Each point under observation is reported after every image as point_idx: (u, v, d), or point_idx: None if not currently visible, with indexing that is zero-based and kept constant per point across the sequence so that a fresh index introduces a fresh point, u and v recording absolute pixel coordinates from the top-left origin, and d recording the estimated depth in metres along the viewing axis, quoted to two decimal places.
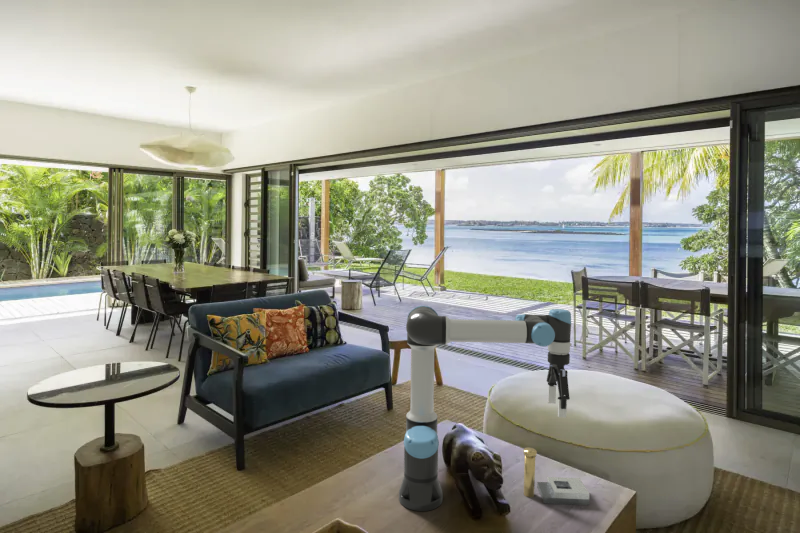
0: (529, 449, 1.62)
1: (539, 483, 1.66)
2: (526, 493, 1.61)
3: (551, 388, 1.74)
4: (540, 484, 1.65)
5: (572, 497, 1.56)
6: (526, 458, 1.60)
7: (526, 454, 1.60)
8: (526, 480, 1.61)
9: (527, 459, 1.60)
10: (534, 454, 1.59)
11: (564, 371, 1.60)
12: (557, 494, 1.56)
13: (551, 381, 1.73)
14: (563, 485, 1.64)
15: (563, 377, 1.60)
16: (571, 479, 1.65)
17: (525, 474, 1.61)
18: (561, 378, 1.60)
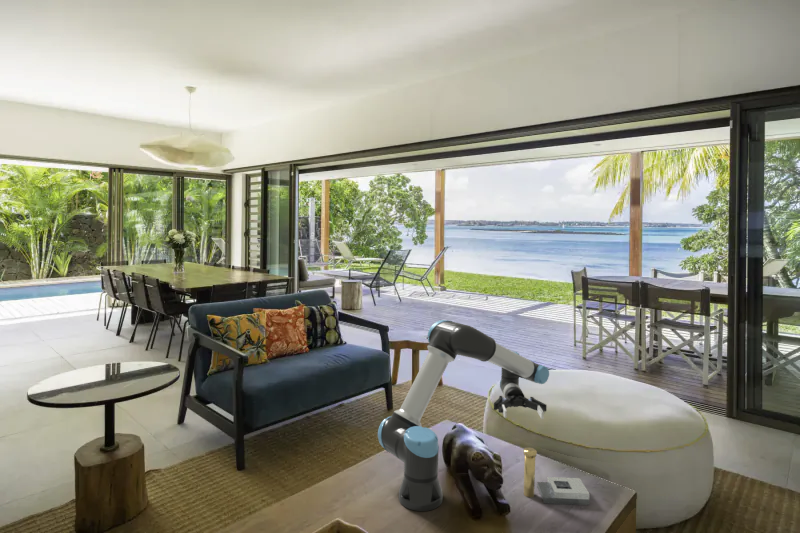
0: (529, 449, 1.62)
1: (539, 483, 1.66)
2: (526, 493, 1.61)
3: None
4: (540, 484, 1.65)
5: (572, 497, 1.56)
6: (526, 458, 1.60)
7: (526, 454, 1.60)
8: (526, 480, 1.61)
9: (527, 459, 1.60)
10: (534, 454, 1.59)
11: None
12: (557, 494, 1.56)
13: (504, 404, 1.81)
14: (563, 485, 1.64)
15: None
16: (571, 479, 1.65)
17: (525, 474, 1.61)
18: None
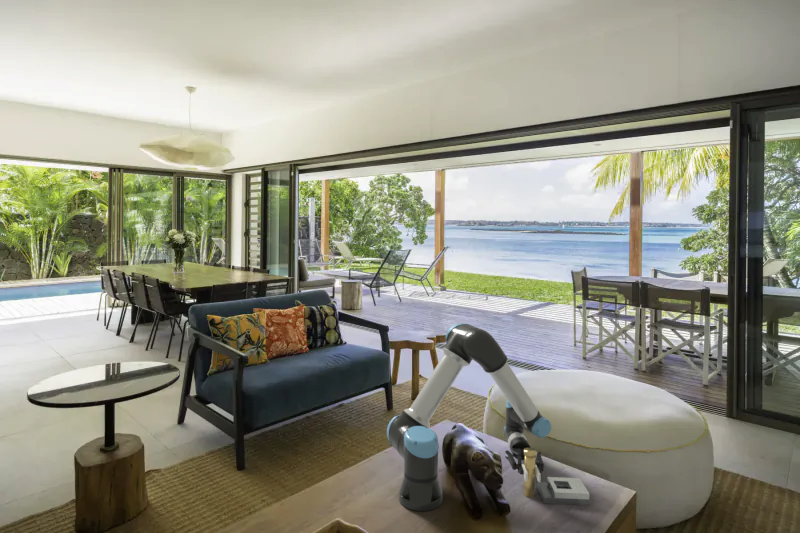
0: (529, 449, 1.62)
1: (539, 483, 1.66)
2: (526, 493, 1.61)
3: None
4: (540, 484, 1.65)
5: (572, 497, 1.56)
6: (526, 458, 1.60)
7: (526, 454, 1.60)
8: None
9: (527, 459, 1.60)
10: (534, 454, 1.59)
11: None
12: (557, 494, 1.56)
13: None
14: (563, 485, 1.64)
15: None
16: (571, 479, 1.65)
17: None
18: None
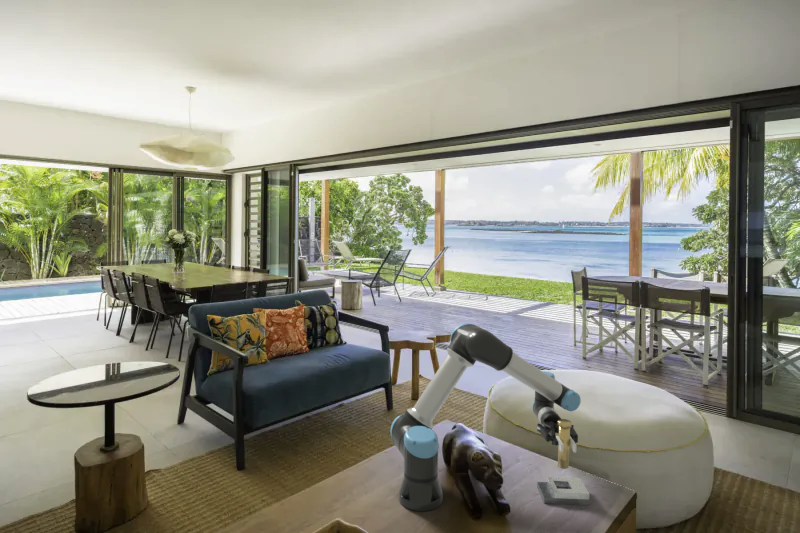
0: (563, 420, 1.60)
1: (539, 483, 1.66)
2: (561, 464, 1.59)
3: None
4: (540, 484, 1.65)
5: (572, 497, 1.56)
6: (561, 429, 1.59)
7: (561, 425, 1.58)
8: (561, 452, 1.59)
9: (562, 430, 1.59)
10: (569, 425, 1.58)
11: None
12: (557, 494, 1.56)
13: (554, 434, 1.64)
14: (563, 485, 1.64)
15: None
16: (571, 479, 1.65)
17: None
18: None
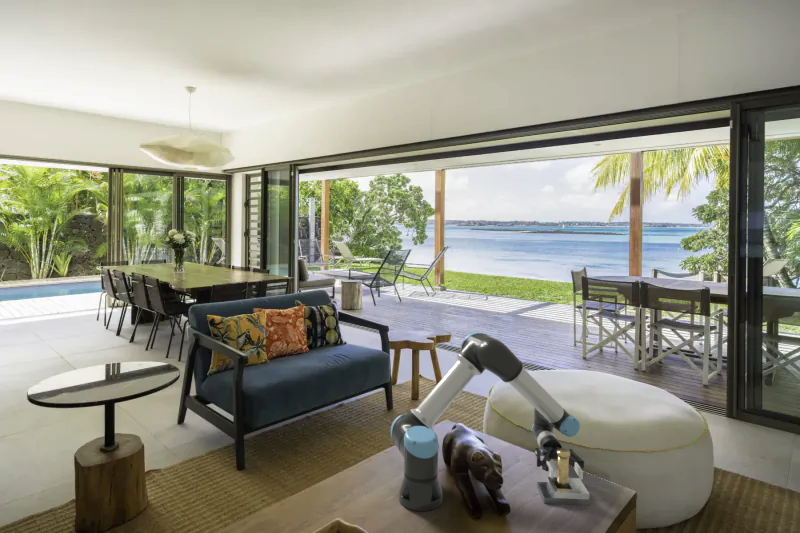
0: (562, 450, 1.61)
1: (539, 483, 1.66)
2: None
3: None
4: (540, 484, 1.65)
5: (572, 497, 1.56)
6: (560, 459, 1.60)
7: (560, 455, 1.59)
8: (559, 482, 1.60)
9: (560, 460, 1.59)
10: (568, 455, 1.59)
11: None
12: (557, 494, 1.56)
13: (547, 459, 1.65)
14: None
15: None
16: (571, 479, 1.65)
17: (558, 475, 1.60)
18: None
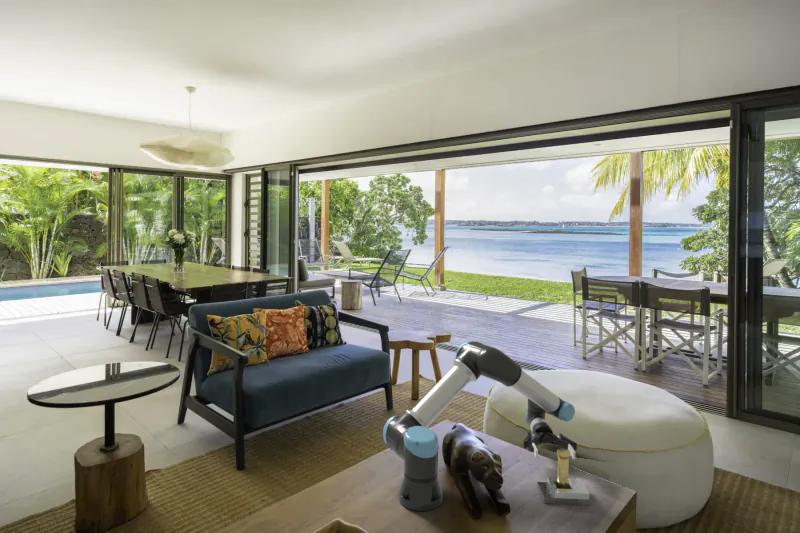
0: (562, 450, 1.61)
1: (539, 483, 1.66)
2: None
3: None
4: (540, 484, 1.65)
5: (572, 497, 1.56)
6: (560, 459, 1.60)
7: (560, 455, 1.59)
8: (559, 482, 1.60)
9: (560, 461, 1.59)
10: (568, 455, 1.58)
11: None
12: (557, 494, 1.56)
13: (534, 442, 1.79)
14: None
15: None
16: (571, 479, 1.65)
17: (558, 475, 1.60)
18: None
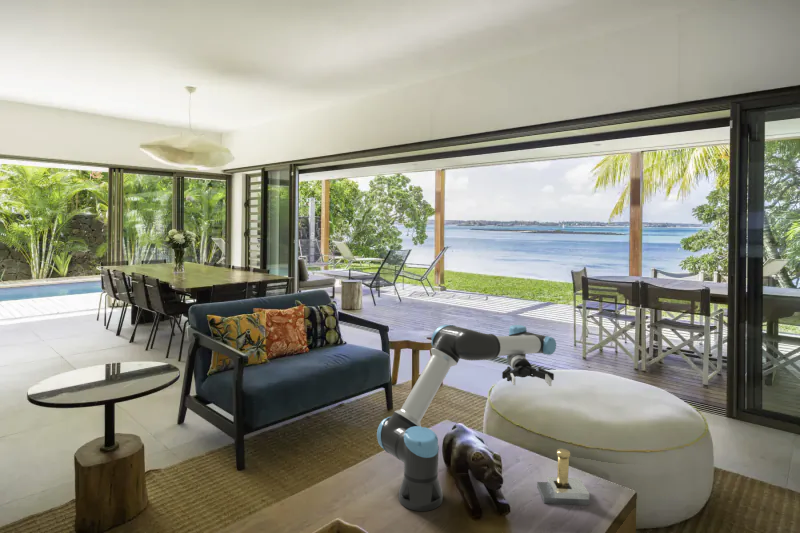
0: (562, 450, 1.61)
1: (539, 483, 1.66)
2: None
3: None
4: (540, 484, 1.65)
5: (572, 497, 1.56)
6: (560, 459, 1.60)
7: (560, 455, 1.59)
8: (559, 482, 1.60)
9: (561, 461, 1.59)
10: (568, 455, 1.58)
11: None
12: (557, 494, 1.56)
13: (513, 373, 1.85)
14: None
15: None
16: (571, 479, 1.65)
17: (559, 475, 1.60)
18: None
